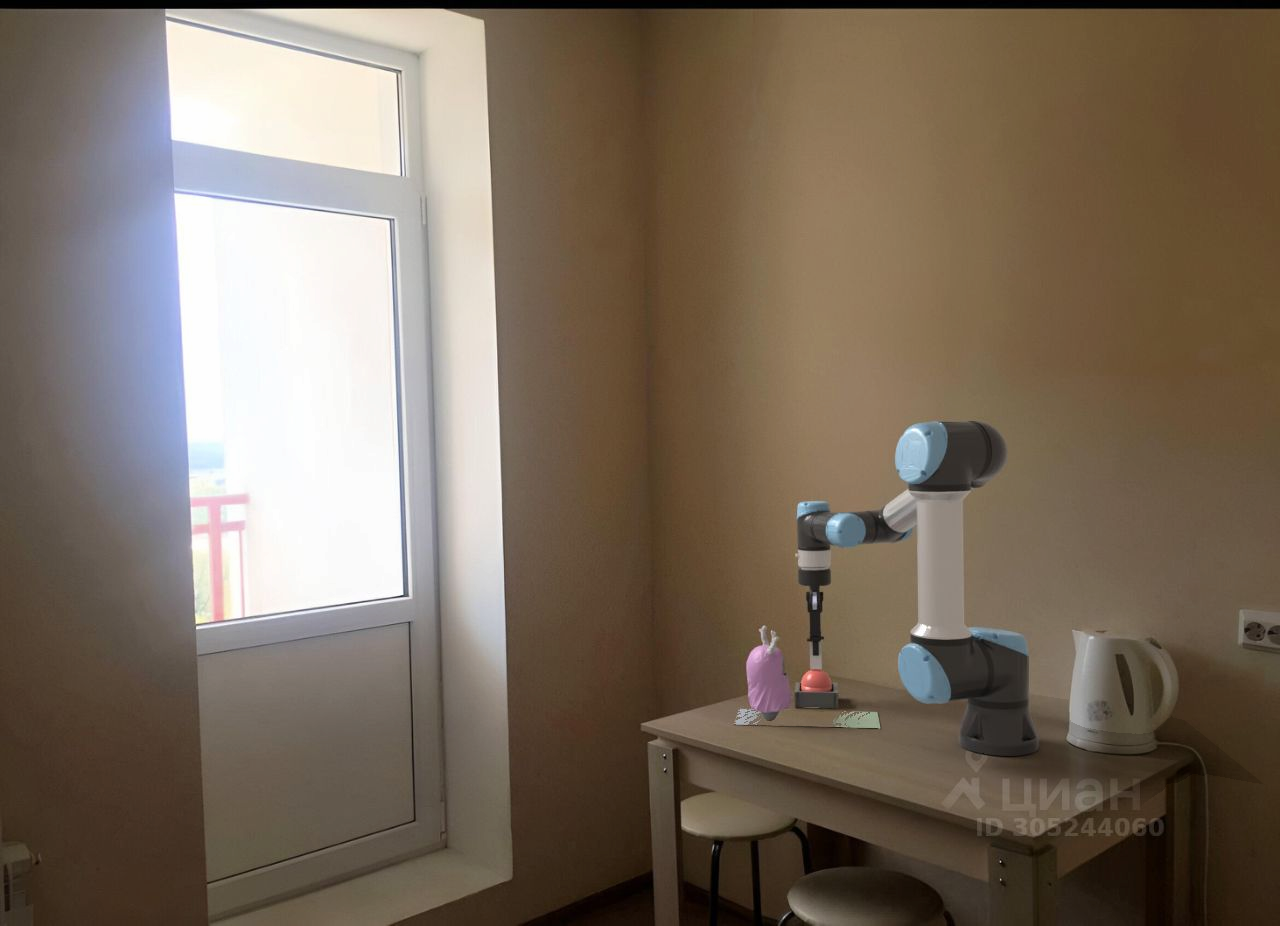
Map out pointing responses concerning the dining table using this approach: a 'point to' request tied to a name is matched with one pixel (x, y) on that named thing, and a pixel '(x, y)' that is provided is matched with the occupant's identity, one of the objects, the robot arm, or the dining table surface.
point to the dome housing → (816, 697)
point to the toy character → (768, 678)
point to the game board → (864, 722)
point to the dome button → (816, 681)
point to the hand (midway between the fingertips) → (816, 668)
